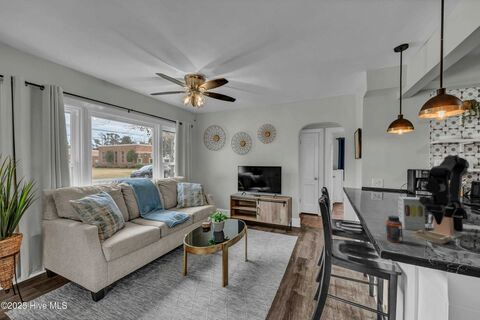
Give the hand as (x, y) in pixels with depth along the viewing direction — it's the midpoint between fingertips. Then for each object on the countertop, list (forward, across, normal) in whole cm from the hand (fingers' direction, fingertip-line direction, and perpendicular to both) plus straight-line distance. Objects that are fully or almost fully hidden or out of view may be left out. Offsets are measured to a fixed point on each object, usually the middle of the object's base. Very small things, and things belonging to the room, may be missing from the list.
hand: (443, 223), depth 102 cm
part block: (+5, 0, 0) cm, 5 cm away
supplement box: (+6, +1, -13) cm, 14 cm away
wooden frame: (+6, +13, 0) cm, 14 cm away
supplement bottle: (+6, +31, -6) cm, 32 cm away
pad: (+6, 0, 0) cm, 6 cm away
